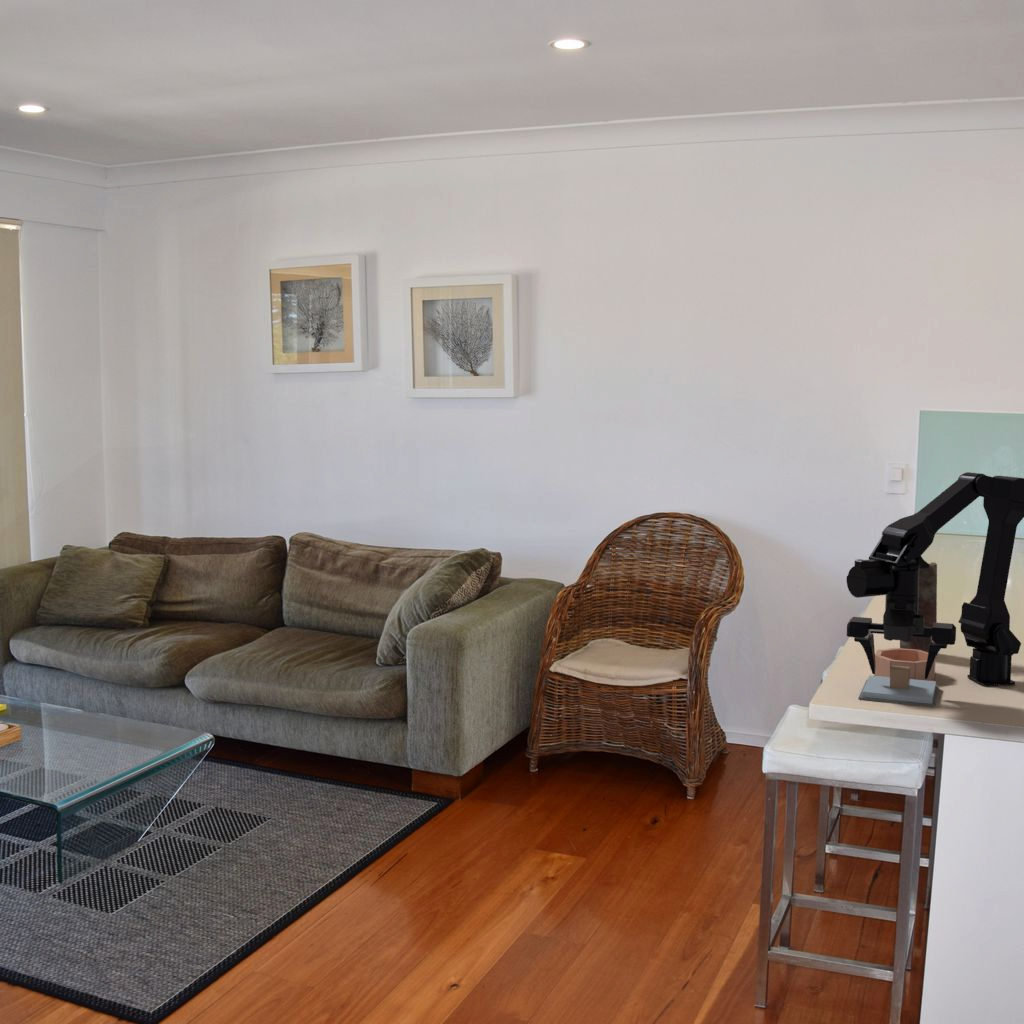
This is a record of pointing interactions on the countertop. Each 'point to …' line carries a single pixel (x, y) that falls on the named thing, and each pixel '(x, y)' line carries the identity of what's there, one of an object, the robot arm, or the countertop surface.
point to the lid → (899, 687)
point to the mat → (901, 701)
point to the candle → (925, 606)
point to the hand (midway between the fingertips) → (899, 675)
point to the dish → (903, 662)
